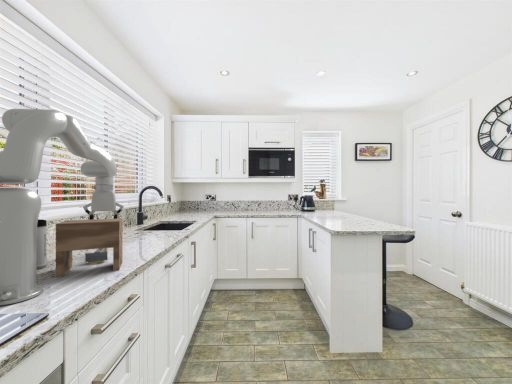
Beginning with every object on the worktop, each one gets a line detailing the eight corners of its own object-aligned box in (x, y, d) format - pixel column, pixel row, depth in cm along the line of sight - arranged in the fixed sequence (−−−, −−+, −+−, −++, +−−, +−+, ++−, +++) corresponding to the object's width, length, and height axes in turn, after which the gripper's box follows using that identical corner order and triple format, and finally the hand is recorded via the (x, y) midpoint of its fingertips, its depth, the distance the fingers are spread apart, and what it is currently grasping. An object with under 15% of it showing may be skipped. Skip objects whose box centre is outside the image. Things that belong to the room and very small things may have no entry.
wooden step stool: (119, 270, 96) (119, 221, 96) (55, 276, 88) (55, 224, 88) (122, 261, 107) (122, 218, 107) (66, 267, 99) (66, 220, 99)
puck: (102, 264, 105) (102, 261, 105) (86, 266, 103) (86, 262, 103) (105, 261, 111) (105, 257, 111) (90, 262, 109) (90, 258, 109)
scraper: (107, 260, 107) (107, 244, 107) (85, 262, 103) (85, 245, 104) (113, 252, 124) (113, 238, 125) (95, 253, 121) (95, 239, 122)
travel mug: (21, 269, 96) (21, 218, 97) (42, 264, 102) (42, 217, 102) (28, 271, 94) (28, 219, 94) (49, 266, 99) (49, 217, 99)
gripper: (81, 188, 115) (80, 224, 114) (123, 188, 122) (122, 223, 121) (85, 188, 122) (84, 223, 121) (124, 189, 129) (124, 221, 128)
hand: (103, 223), depth 121 cm, fingers open, 9 cm apart
